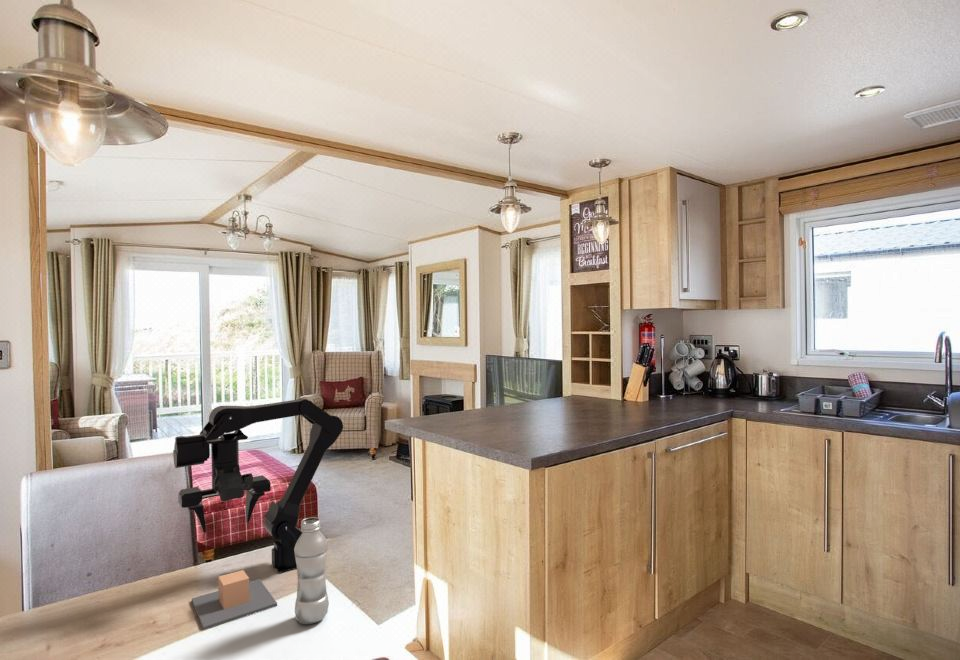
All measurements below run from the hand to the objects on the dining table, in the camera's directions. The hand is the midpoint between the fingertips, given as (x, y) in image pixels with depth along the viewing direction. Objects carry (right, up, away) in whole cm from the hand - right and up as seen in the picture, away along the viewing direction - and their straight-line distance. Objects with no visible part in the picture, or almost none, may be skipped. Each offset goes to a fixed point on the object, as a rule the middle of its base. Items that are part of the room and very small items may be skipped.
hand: (226, 527), depth 121 cm
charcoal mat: (+6, -13, -9) cm, 17 cm away
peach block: (+6, -12, -9) cm, 17 cm away
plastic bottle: (+25, -13, -16) cm, 33 cm away
